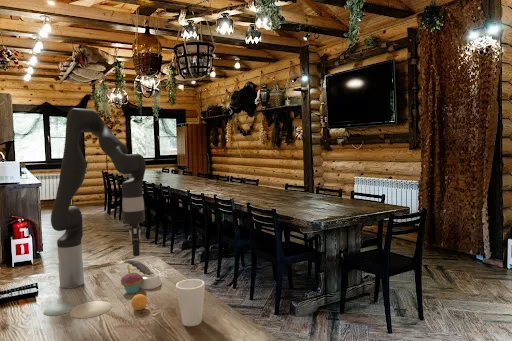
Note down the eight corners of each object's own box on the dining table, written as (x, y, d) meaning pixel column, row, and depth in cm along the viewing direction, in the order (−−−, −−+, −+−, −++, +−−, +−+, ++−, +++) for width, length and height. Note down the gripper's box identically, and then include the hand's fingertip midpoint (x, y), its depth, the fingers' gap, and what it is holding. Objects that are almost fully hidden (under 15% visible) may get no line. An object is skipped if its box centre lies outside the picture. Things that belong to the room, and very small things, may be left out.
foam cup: (182, 331, 132) (180, 291, 131) (174, 319, 141) (172, 282, 139) (210, 323, 137) (208, 285, 136) (200, 313, 145) (199, 277, 144)
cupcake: (136, 295, 163) (135, 265, 162) (117, 294, 164) (115, 264, 163) (146, 287, 171) (145, 258, 170) (127, 286, 173) (126, 258, 172)
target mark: (61, 312, 149) (61, 311, 149) (96, 298, 161) (96, 298, 161) (84, 321, 141) (84, 321, 141) (119, 306, 153) (119, 306, 153)
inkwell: (152, 290, 168) (151, 266, 167) (116, 285, 174) (115, 262, 173) (165, 282, 176) (164, 259, 175) (130, 278, 183) (129, 255, 182)
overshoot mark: (38, 311, 151) (38, 311, 151) (64, 301, 159) (64, 301, 159) (52, 318, 145) (52, 317, 145) (79, 307, 153) (79, 307, 153)
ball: (128, 310, 149) (127, 295, 149) (140, 305, 154) (140, 290, 153) (138, 314, 146) (137, 298, 145) (150, 308, 150) (150, 293, 150)
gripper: (145, 211, 146) (147, 256, 147) (143, 205, 159) (145, 247, 161) (122, 212, 144) (125, 259, 145) (122, 207, 157) (125, 249, 158)
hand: (136, 253), depth 153 cm, fingers open, 8 cm apart
